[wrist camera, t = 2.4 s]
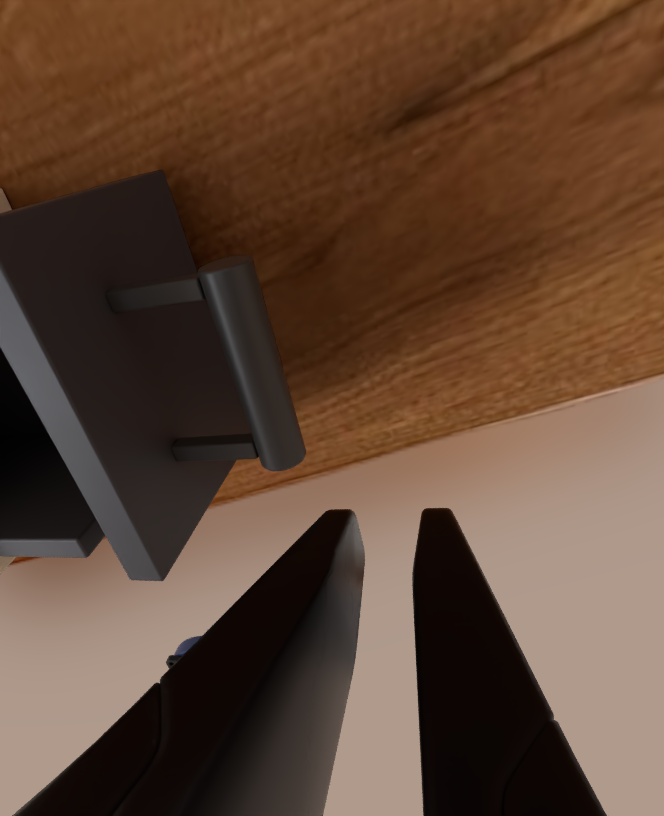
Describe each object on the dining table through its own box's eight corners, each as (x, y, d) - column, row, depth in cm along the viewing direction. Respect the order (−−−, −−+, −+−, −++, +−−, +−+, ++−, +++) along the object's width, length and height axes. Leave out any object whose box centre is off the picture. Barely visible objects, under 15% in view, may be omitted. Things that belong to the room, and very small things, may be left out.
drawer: (284, 141, 16) (158, 181, 9) (349, 429, 21) (297, 586, 14) (-112, 232, 20) (-379, 300, 14) (18, 448, 25) (-134, 573, 19)
